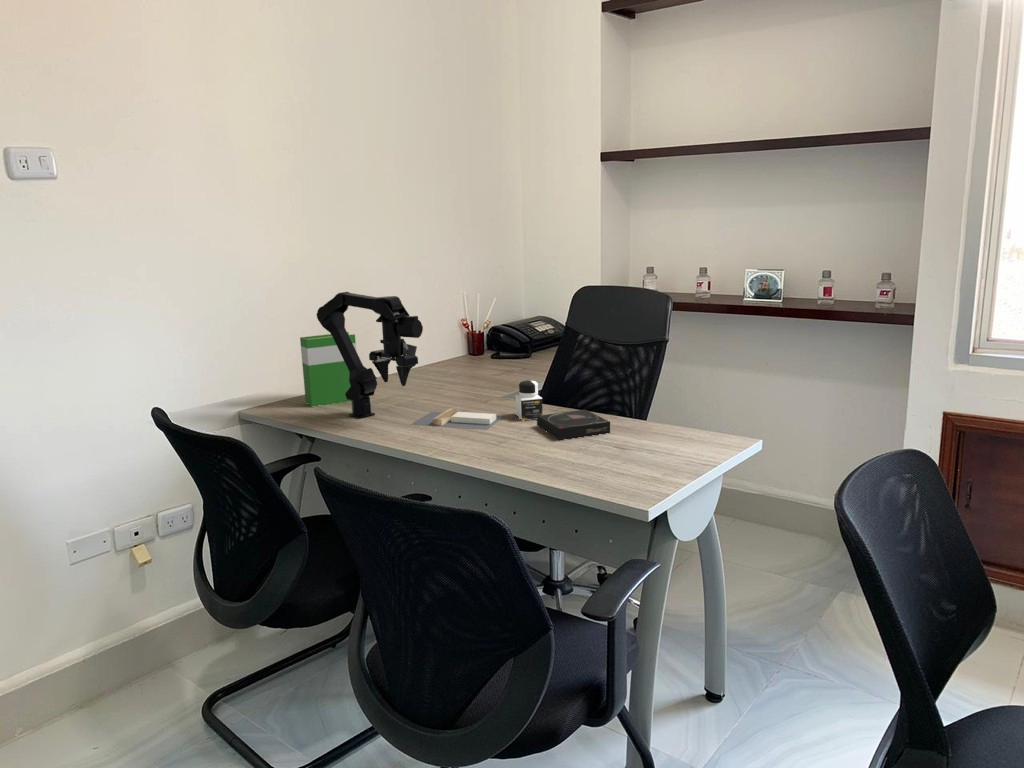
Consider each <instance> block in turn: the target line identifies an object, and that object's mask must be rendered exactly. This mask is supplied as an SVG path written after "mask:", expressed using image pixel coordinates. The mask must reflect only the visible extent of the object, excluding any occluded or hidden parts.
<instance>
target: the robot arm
mask: <svg viewBox="0 0 1024 768" xmlns="http://www.w3.org/2000/svg"><path fill="white" fill-rule="evenodd" d="M349 307H354V308H360V309H364V310H365V309H366V310H371V311H373V312H374V313H375V314H377V315H379V317H377V318H376V320H375V322H376V323H381V327H382V328H381V331H382V339H380V340H379V342H380V344H383V345H382V346H383V349H378V350H373V351H370V352H369V354H368V358H369V359H368V360H369V361H371V363H372V364H373V366H374V367H375V368H376V370H377V371H378V373H379V375H380V377H381V378H382V380H383V382H384V383H388V381H389V364H390V363H391V361H392V362H395V363H396V365H395V368H396V371H397V375H398V379H399V381H400V384H401V387H406V384H407V381H408V378H409V375H410V371H411V369H412V368H413V367H416V365H418V364H419V357H418V356H417V355H416V353H417V347H418V346H416V345H413V344H408V343H406V341H405V339H404V338H411V339H413V338H414V339H419V338H420V337H421V336H422V334H423V331H424V327H423V324H422V321H421V320H419V316H418V315H413V316H411V315H410V314H409V312H408V311H407V310H406V308H405V306H404V305H403V303H402V301H401V299H400V297H399V296H396V295H393V296H392V295H390V296H380V297H379V296H378V297H377V296H371V295H365V294H360V293H359V294H358V293H353V292H349V291H344V292H343V291H342V292H338V293H337V294H336V295H335V296H334V297H333V298H331V299H330V300H329V301H326V303H325V304H323V305H322V306H320V307H319V308H318V310H317V312H316V318H317V321H318V322H319V323H320V325H321V326H322V328H323V329H325V330H326V331H327V332H328V333H329V334H331V335H332V337H333V339H334V341H335V343H336V345H337V347H338V349H339V351H340V353H341V355H342V357H343V359H344V362H345V364H346V366H347V368H348V370H349V382H350V385H351V387H350V388H349V389H348V391H347V392H346V393H345V395H346V398H347V400H351V401H350V402H351V413H348V416H349V417H354V418H357V419H362V418H363V419H364V418H365V417H371V416H375V415H376V413H375V412H373V411H372V406H371V398H370V397H371V396H374V395H375V391H376V389H377V386H378V382H377V380H378V378H377V376H376V375H375V372H374V370H373V369H372V367H366V366H364V364H363V363H362V361H361V360H362V359H361V358H360V356H359V354H358V351H357V349H356V350H355V348H354V346H353V344H352V342H351V339H350V337H349V335H350V334H349V335H348V333H347V332H348V331H347V330H346V326H345V325H346V324H345V323H346V317H345V313H346V311H348V309H349Z"/></svg>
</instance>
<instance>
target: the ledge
mask: <svg viewBox="0 0 1024 768" xmlns="http://www.w3.org/2000/svg"><path fill="white" fill-rule="evenodd" d="M457 412H460V408H455V407H450V408H449V409H446V410H445V411H443V412H442V414H440V415H438V416H437V417H435V418H434V419H433V425H438V426H442V425H444V424H445V423H447V422H448V421H450V420H451V416H453V415H454V414H456V413H457Z"/></svg>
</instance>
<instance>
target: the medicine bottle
mask: <svg viewBox="0 0 1024 768" xmlns="http://www.w3.org/2000/svg"><path fill="white" fill-rule="evenodd" d="M518 388H519V389H518V393H519V394H515V396H514V397H515V398H514V399H515V416H516V415H517V416H518V417H519V418H520V419H521V420H527V421H532V420H531V419H537V416H540V415H544V414H543V397H542V396H540V395H539V383H538V382H537V381H535V380H528V379H527V380H523V381H520V382H519V383H518ZM517 416H516V417H517ZM518 417H517V418H518ZM519 418H518V419H519ZM520 419H519V420H520ZM521 420H520V421H521Z"/></svg>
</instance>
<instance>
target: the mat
mask: <svg viewBox="0 0 1024 768" xmlns="http://www.w3.org/2000/svg"><path fill="white" fill-rule="evenodd" d="M442 413H443V412H440V411H439V412H438V411H430V412H429V413H427V414H425V415H424V416H422V417H420V418H418V419H417V420H415V421H414V422H411V423H410V425H411V426H412V425H413V426H423V427H424V426H425V427H439V428H453V429H468V430H482V431H487V430H489V429H490V428H492V427H493V426H494V425H495V424H497V423H498V422H499V421H501V420H502V419H503V418H505V416H503V415H502V416H501V415H496V421H495V422H493V423H492V424H491V425H480V424H464V423H451V420H450V421H448V422H447V423H445V424H444V425H442V426H438V425H433V419H434V418H435V417H437V416H438V415H440V414H442Z"/></svg>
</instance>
